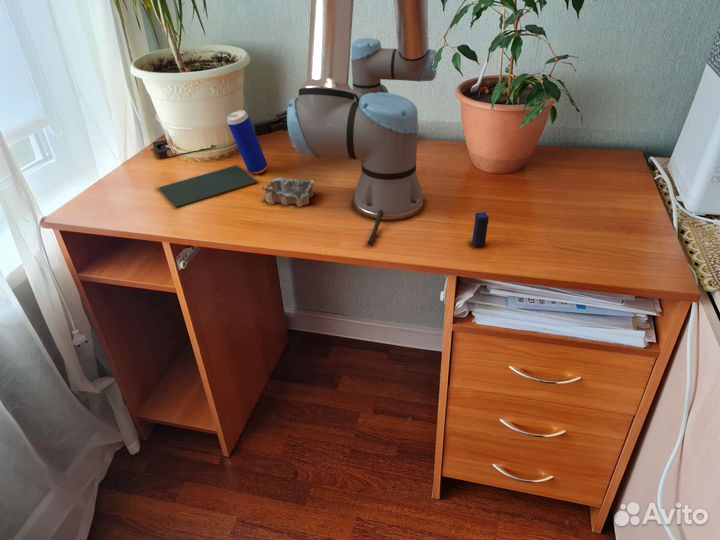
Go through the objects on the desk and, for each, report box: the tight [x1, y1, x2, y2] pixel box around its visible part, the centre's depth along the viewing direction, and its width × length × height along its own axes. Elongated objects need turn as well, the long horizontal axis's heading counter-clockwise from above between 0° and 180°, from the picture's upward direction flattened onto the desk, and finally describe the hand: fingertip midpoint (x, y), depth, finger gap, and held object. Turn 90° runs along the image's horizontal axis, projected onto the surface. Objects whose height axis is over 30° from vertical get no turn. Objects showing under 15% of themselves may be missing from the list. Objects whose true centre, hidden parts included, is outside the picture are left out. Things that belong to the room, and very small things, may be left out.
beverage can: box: [226, 109, 268, 175], centre depth 127 cm, size 5×5×15 cm
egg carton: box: [261, 176, 314, 207], centre depth 119 cm, size 11×8×4 cm
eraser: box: [472, 211, 490, 248], centre depth 100 cm, size 2×2×7 cm
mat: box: [159, 165, 258, 209], centre depth 126 cm, size 20×12×1 cm, turn 126°
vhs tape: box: [152, 139, 179, 160], centre depth 145 cm, size 14×8×2 cm, turn 117°
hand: (255, 130), depth 127 cm, fingers closed
